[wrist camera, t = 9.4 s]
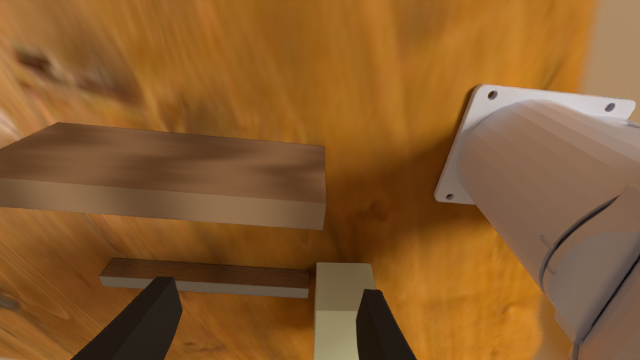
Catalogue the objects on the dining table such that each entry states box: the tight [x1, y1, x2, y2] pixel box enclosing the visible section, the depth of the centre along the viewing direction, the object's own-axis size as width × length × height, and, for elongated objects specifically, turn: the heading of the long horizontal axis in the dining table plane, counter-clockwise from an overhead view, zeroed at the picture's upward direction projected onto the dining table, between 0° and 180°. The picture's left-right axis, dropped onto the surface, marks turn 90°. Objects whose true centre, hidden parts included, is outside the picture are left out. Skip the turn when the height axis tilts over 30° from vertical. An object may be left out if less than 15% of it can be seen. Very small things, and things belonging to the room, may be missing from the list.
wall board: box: [0, 122, 327, 230], centre depth 15 cm, size 16×2×6 cm, turn 84°
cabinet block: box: [314, 262, 376, 360], centre depth 24 cm, size 4×8×4 cm, turn 178°
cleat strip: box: [99, 258, 309, 298], centre depth 23 cm, size 16×1×2 cm, turn 84°
